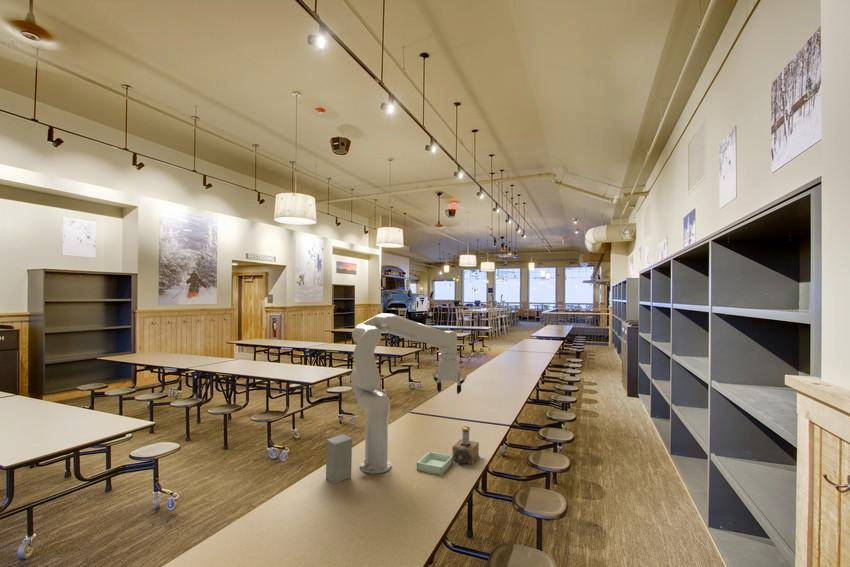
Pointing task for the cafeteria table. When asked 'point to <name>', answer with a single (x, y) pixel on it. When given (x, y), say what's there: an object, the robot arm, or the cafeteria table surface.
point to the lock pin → (465, 436)
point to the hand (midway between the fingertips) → (449, 392)
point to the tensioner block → (465, 452)
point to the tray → (435, 463)
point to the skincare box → (338, 458)
